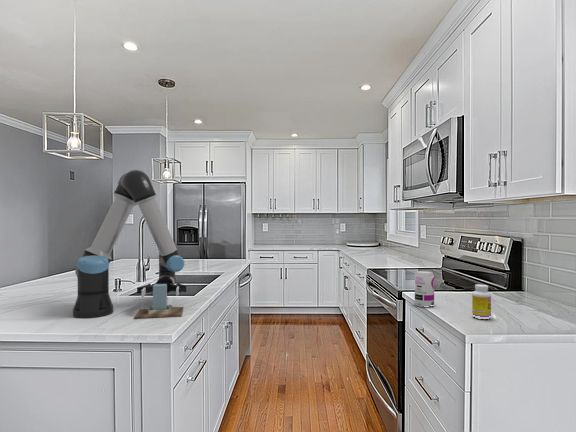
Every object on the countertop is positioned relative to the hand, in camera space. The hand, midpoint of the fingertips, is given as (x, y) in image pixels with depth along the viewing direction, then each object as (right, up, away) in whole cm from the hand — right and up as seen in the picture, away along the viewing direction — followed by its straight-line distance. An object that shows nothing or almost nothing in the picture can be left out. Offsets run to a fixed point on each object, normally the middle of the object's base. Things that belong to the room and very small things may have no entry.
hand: (159, 293), depth 165 cm
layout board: (-1, -9, +2) cm, 9 cm away
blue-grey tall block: (-1, -8, +2) cm, 8 cm away
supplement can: (+113, -9, +15) cm, 114 cm away
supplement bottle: (+128, -9, -7) cm, 128 cm away
